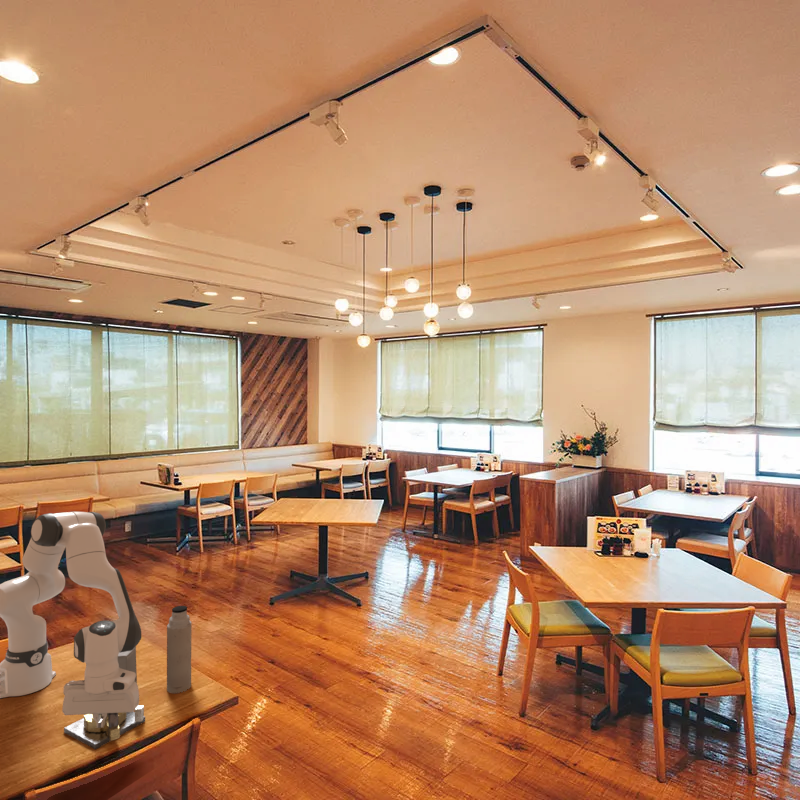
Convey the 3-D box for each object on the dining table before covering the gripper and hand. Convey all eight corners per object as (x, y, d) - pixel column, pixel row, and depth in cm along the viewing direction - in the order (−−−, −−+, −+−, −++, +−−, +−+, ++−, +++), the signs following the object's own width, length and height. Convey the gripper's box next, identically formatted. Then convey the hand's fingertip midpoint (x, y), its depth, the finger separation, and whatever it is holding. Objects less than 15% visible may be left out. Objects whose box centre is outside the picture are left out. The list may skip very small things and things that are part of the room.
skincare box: (128, 704, 183) (128, 656, 183) (105, 705, 182) (106, 657, 182) (138, 690, 191) (138, 645, 191) (117, 691, 190) (117, 645, 190)
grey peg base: (64, 732, 167) (64, 698, 167) (114, 707, 181) (114, 675, 181) (98, 751, 158) (98, 714, 158) (148, 722, 172) (148, 689, 172)
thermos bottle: (162, 693, 189) (163, 612, 189) (172, 681, 197) (172, 603, 197) (186, 693, 189) (186, 612, 189) (194, 681, 197) (194, 603, 197)
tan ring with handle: (81, 719, 170) (81, 694, 170) (120, 707, 177) (120, 682, 177) (93, 747, 157) (94, 719, 157) (135, 732, 164) (135, 705, 164)
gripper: (58, 686, 157) (57, 735, 157) (134, 683, 159) (133, 731, 159) (68, 675, 163) (68, 721, 163) (141, 672, 165) (140, 718, 166)
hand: (101, 726), depth 161 cm, fingers closed
